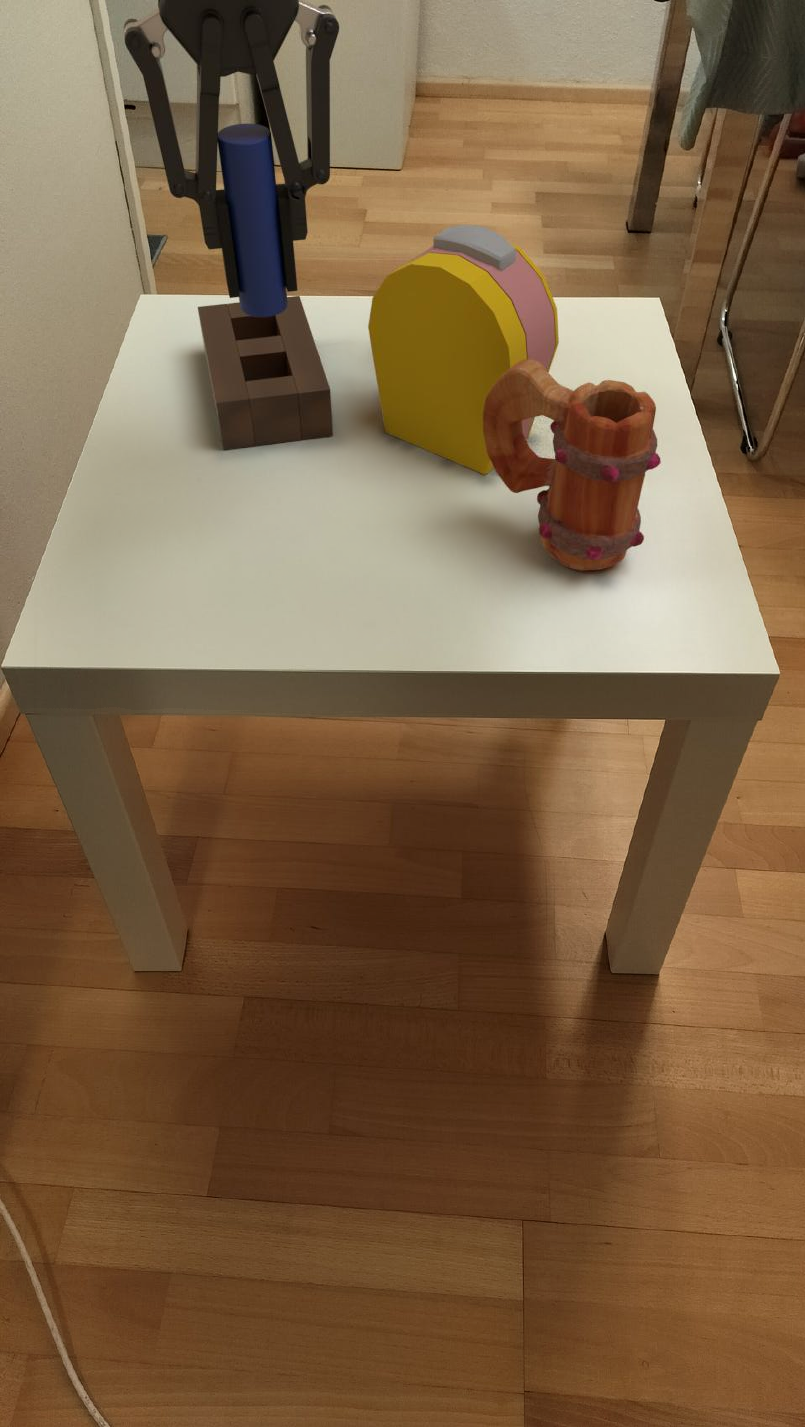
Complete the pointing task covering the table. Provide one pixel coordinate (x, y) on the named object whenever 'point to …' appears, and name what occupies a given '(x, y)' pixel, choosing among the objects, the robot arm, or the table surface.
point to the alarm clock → (457, 338)
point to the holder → (265, 376)
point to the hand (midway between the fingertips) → (261, 285)
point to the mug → (575, 460)
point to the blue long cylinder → (253, 217)
